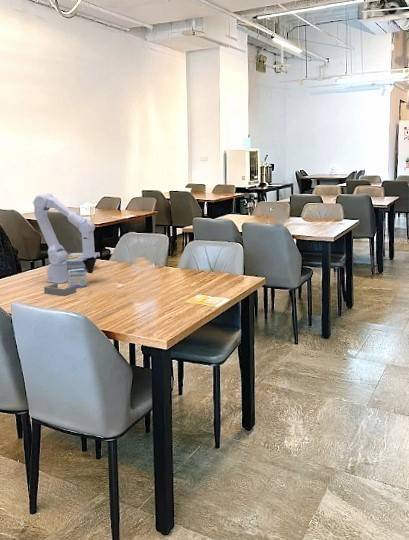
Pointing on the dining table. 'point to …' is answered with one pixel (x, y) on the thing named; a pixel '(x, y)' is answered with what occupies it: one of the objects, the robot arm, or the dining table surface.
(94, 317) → the dining table surface
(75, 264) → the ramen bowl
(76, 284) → the medicine box
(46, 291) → the cradle jig
